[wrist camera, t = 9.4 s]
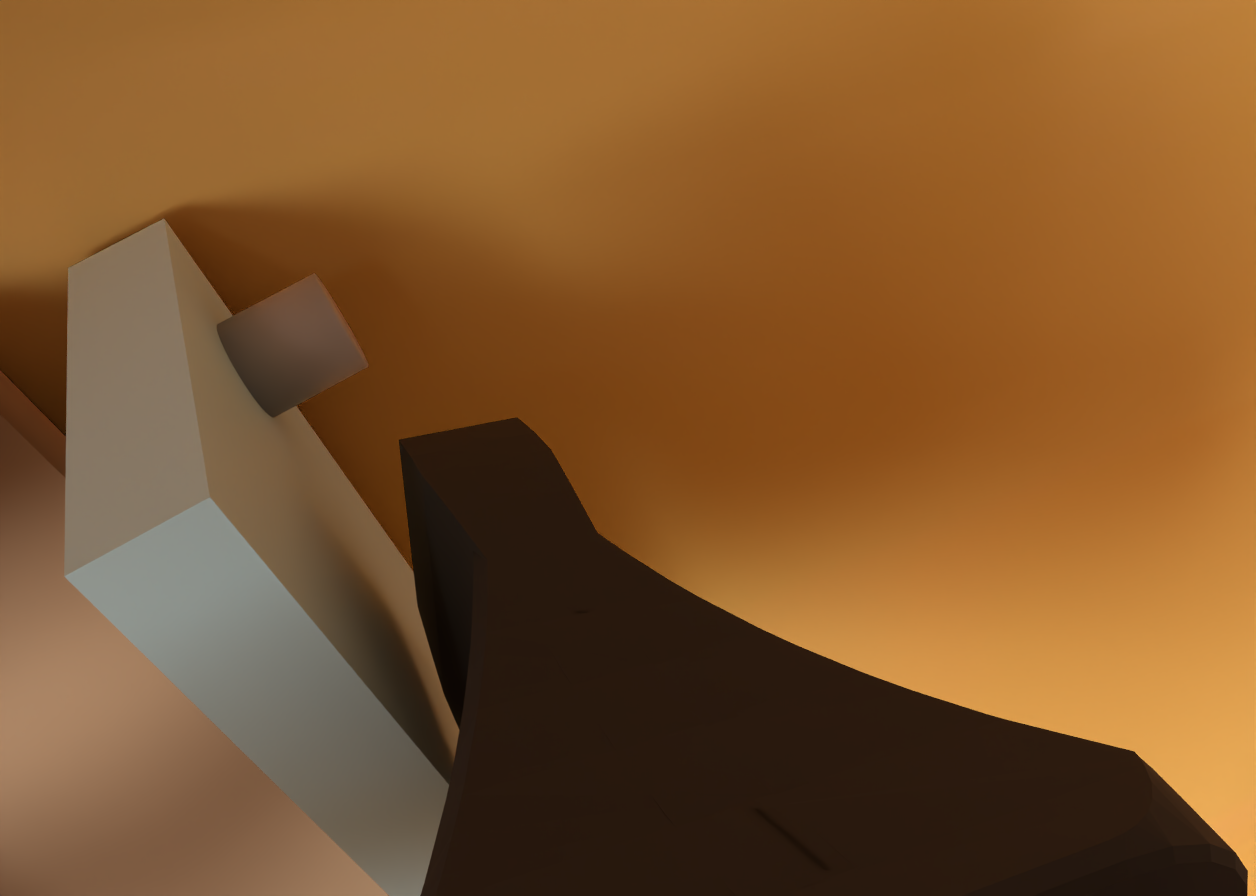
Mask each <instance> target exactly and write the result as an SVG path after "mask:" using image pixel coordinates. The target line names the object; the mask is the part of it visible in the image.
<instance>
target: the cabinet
mask: <svg viewBox="0 0 1256 896" xmlns="http://www.w3.org/2000/svg"><path fill="white" fill-rule="evenodd" d="M65 478H66V437H65V435H64V434H63V433H62V432H61V431H60V430H59V429H58V428H57V427H56V426H55V425H54V424H53V423H52V422H51V421H50V420H49V419H48V418H47V417H46V416H45V415H44V414H43V413H42V412H41V411H40V410H39V409H38V408H37V407H36V406H35V405H34V404H33V403H32V402H31V401H30V400H29V399H28V398H27V397H26V396H25V395H24V394H23V393H22V392H21V391H20V390H19V389H18V388H17V387H16V386H15V385H14V384H13V383H12V382H11V381H10V380H9V379H8V378H7V377H6V376H5V375H4V374H3V373H2V372H1V371H0V896H389V895H388V894H387V893H386V892H385V891H384V890H383V889H382V888H381V887H380V886H379V885H378V884H377V883H376V882H375V881H374V880H373V879H372V878H371V877H370V876H369V875H368V874H367V873H366V872H365V871H364V870H362V869H361V868H360V867H359V866H358V865H357V864H356V863H355V862H354V861H353V860H352V859H351V858H350V857H349V856H348V855H347V854H346V853H345V852H344V851H343V850H342V849H341V848H340V847H339V846H338V845H337V844H336V843H335V842H334V841H333V840H332V839H331V838H330V837H329V836H328V835H327V834H326V833H325V832H324V831H323V830H322V829H321V828H320V827H319V826H318V825H317V824H316V823H315V822H314V821H313V820H312V819H311V818H310V817H309V816H308V815H307V814H306V813H304V812H303V811H302V810H301V809H300V808H299V807H298V806H297V805H296V804H295V803H294V802H293V801H292V800H291V799H290V798H289V797H288V796H287V795H286V794H285V793H284V792H283V791H282V790H281V789H280V788H279V787H278V786H277V785H276V784H275V783H274V782H273V781H272V780H271V779H270V778H269V777H268V776H267V775H266V774H265V773H264V772H263V771H262V770H261V769H260V768H259V767H258V766H257V765H256V764H255V763H254V762H253V761H252V760H251V759H250V758H249V757H247V756H246V755H245V754H244V753H243V752H242V751H241V750H240V749H239V748H238V747H237V746H236V745H235V744H234V743H233V742H232V741H231V740H230V739H229V738H228V737H227V736H226V735H225V734H224V733H223V732H222V731H221V730H220V729H219V728H218V727H217V726H216V725H215V724H214V723H213V722H212V721H211V720H210V719H209V718H208V717H207V716H206V715H205V714H204V713H203V712H202V711H201V710H200V709H199V708H198V707H197V706H196V705H195V704H194V703H193V702H192V701H191V700H189V699H188V698H187V697H186V696H185V695H184V694H183V693H182V692H181V691H180V690H179V689H178V688H177V687H176V686H175V685H174V684H173V683H172V682H171V681H170V680H169V679H168V678H167V677H166V676H165V675H164V674H163V673H162V672H161V671H160V670H159V669H158V668H157V667H156V666H155V665H154V664H153V663H152V662H151V661H150V660H149V659H148V658H147V657H146V656H145V655H144V654H143V653H142V652H141V651H140V650H139V649H138V648H137V647H136V646H135V645H134V644H133V643H131V642H130V641H129V640H128V639H127V638H126V637H125V636H124V635H123V634H122V633H121V632H120V631H119V630H118V629H117V628H116V627H115V626H114V625H113V624H112V623H111V622H110V621H109V620H108V619H107V618H106V617H105V616H104V615H103V614H102V613H101V612H100V611H99V610H98V609H97V608H96V607H95V606H94V605H93V604H92V603H91V602H90V601H89V600H88V599H87V598H86V597H85V596H84V595H83V594H82V593H81V592H80V591H79V590H78V589H77V588H76V587H74V586H73V585H72V584H71V583H70V582H69V581H68V580H67V579H66V578H65V577H64V557H65Z"/></svg>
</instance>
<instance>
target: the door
mask: <svg viewBox="0 0 1256 896" xmlns="http://www.w3.org/2000/svg"><path fill="white" fill-rule="evenodd" d="M367 367H369V365H368V362H367V360H366V357H365V355H364V353H363V351H362V349H361V347H360V345H359V343H358V341H357V340H356V338H355V336H354V334H353V332H352V330H351V329H350V327H349V325H348V323H347V322H346V320H345V318H344V316H343V315H342V313H341V311H340V310H339V308H338V306H337V305H336V303H335V301H334V300H333V298H332V297H331V295H330V293H329V292H328V290H327V289H326V287H325V286H324V284H323V283H322V281H321V280H320V279H319V277H318V276H317V275H316V274H315V273H313V274H311V275H309V276H307V277H306V278H304V279H302V280H300V281H298V282H296V283H294V284H292V285H290V286H289V287H287V288H285V289H283V290H281V291H279V292H277V293H275V294H273V295H272V296H270V297H268V298H266V299H264V300H262V301H260V302H258V303H256V304H255V305H253V306H251V307H249V308H247V309H245V310H243V311H241V312H239V313H238V314H236V315H234V316H233V315H232V314H231V312H230V311H229V310H228V308H227V307H226V305H225V304H224V302H223V301H222V300H221V298H220V297H219V295H218V294H217V293H216V291H215V290H214V288H213V287H212V285H211V284H210V283H209V281H208V280H207V278H206V277H205V276H204V274H203V273H202V271H201V270H200V268H199V267H198V266H197V264H196V263H195V261H194V260H193V259H192V257H191V256H190V254H189V253H188V251H187V250H186V249H185V247H184V246H183V244H182V243H181V241H180V240H179V239H178V237H177V236H176V234H175V233H174V232H173V230H172V229H171V227H170V226H169V224H168V223H167V222H166V220H165V219H162V220H160V221H158V222H156V223H154V224H152V225H150V226H148V227H146V228H144V229H142V230H141V231H139V232H137V233H135V234H133V235H131V236H129V237H127V238H125V239H123V240H121V241H119V242H117V243H115V244H113V245H111V246H110V247H108V248H106V249H104V250H102V251H100V252H98V253H96V254H94V255H92V256H90V257H88V258H86V259H84V260H82V261H81V262H79V263H77V264H75V265H73V266H71V267H69V268H68V320H67V399H66V478H65V557H64V577H65V578H66V579H67V580H68V581H69V582H70V583H71V584H72V585H73V586H74V587H76V588H77V589H78V590H79V591H80V592H81V593H82V594H83V595H84V596H85V597H86V598H87V599H88V600H89V601H90V602H91V603H92V604H93V605H94V606H95V607H96V608H97V609H98V610H99V611H100V612H101V613H102V614H103V615H104V616H105V617H106V618H107V619H108V620H109V621H110V622H111V623H112V624H113V625H114V626H115V627H116V628H117V629H118V630H119V631H120V632H121V633H122V634H123V635H124V636H125V637H126V638H127V639H128V640H129V641H130V642H131V643H133V644H134V645H135V646H136V647H137V648H138V649H139V650H140V651H141V652H142V653H143V654H144V655H145V656H146V657H147V658H148V659H149V660H150V661H151V662H152V663H153V664H154V665H155V666H156V667H157V668H158V669H159V670H160V671H161V672H162V673H163V674H164V675H165V676H166V677H167V678H168V679H169V680H170V681H171V682H172V683H173V684H174V685H175V686H176V687H177V688H178V689H179V690H180V691H181V692H182V693H183V694H184V695H185V696H186V697H187V698H188V699H189V700H191V701H192V702H193V703H194V704H195V705H196V706H197V707H198V708H199V709H200V710H201V711H202V712H203V713H204V714H205V715H206V716H207V717H208V718H209V719H210V720H211V721H212V722H213V723H214V724H215V725H216V726H217V727H218V728H219V729H220V730H221V731H222V732H223V733H224V734H225V735H226V736H227V737H228V738H229V739H230V740H231V741H232V742H233V743H234V744H235V745H236V746H237V747H238V748H239V749H240V750H241V751H242V752H243V753H244V754H245V755H246V756H247V757H249V758H250V759H251V760H252V761H253V762H254V763H255V764H256V765H257V766H258V767H259V768H260V769H261V770H262V771H263V772H264V773H265V774H266V775H267V776H268V777H269V778H270V779H271V780H272V781H273V782H274V783H275V784H276V785H277V786H278V787H279V788H280V789H281V790H282V791H283V792H284V793H285V794H286V795H287V796H288V797H289V798H290V799H291V800H292V801H293V802H294V803H295V804H296V805H297V806H298V807H299V808H300V809H301V810H302V811H303V812H304V813H306V814H307V815H308V816H309V817H310V818H311V819H312V820H313V821H314V822H315V823H316V824H317V825H318V826H319V827H320V828H321V829H322V830H323V831H324V832H325V833H326V834H327V835H328V836H329V837H330V838H331V839H332V840H333V841H334V842H335V843H336V844H337V845H338V846H339V847H340V848H341V849H342V850H343V851H344V852H345V853H346V854H347V855H348V856H349V857H350V858H351V859H352V860H353V861H354V862H355V863H356V864H357V865H358V866H359V867H360V868H361V869H362V870H364V871H365V872H366V873H367V874H368V875H369V876H370V877H371V878H372V879H373V880H374V881H375V882H376V883H377V884H378V885H379V886H380V887H381V888H382V889H383V890H384V891H385V892H386V893H387V894H388V895H389V896H420V895H421V892H422V889H423V885H424V882H425V878H426V874H427V870H428V867H429V863H430V859H431V855H432V851H433V847H434V844H435V840H436V836H437V832H438V828H439V824H440V820H441V817H442V813H443V809H444V805H445V801H446V797H447V792H448V788H449V783H450V778H451V774H452V769H453V764H454V759H455V753H456V747H457V741H458V735H459V728H458V726H457V724H456V721H455V719H454V717H453V715H452V712H451V710H450V708H449V705H448V703H447V701H446V698H445V696H444V693H443V690H442V687H441V684H440V680H439V677H438V674H437V671H436V667H435V664H434V661H433V658H432V654H431V651H430V647H429V644H428V641H427V637H426V634H425V630H424V627H423V624H422V620H421V617H420V613H419V610H418V607H417V598H416V589H415V580H414V572H413V571H412V569H411V568H410V566H409V565H408V563H407V562H406V561H405V559H404V558H403V556H402V555H401V554H400V552H399V551H398V549H397V548H396V546H395V545H394V544H393V542H392V541H391V539H390V538H389V537H388V535H387V534H386V532H385V531H384V529H383V528H382V527H381V525H380V524H379V522H378V521H377V519H376V518H375V517H374V515H373V514H372V512H371V511H370V510H369V508H368V507H367V505H366V504H365V502H364V501H363V500H362V498H361V497H360V495H359V494H358V493H357V491H356V490H355V488H354V487H353V485H352V484H351V483H350V481H349V480H348V478H347V477H346V476H345V474H344V473H343V471H342V470H341V468H340V467H339V466H338V464H337V463H336V461H335V460H334V458H333V457H332V456H331V454H330V453H329V451H328V450H327V449H326V447H325V446H324V444H323V443H322V441H321V440H320V439H319V437H318V436H317V434H316V433H315V432H314V430H313V429H312V427H311V426H310V424H309V423H308V422H307V420H306V419H305V417H304V416H303V415H302V413H301V412H300V410H299V409H298V407H297V405H298V404H300V403H302V402H304V401H306V400H308V399H310V398H311V397H313V396H315V395H317V394H319V393H321V392H323V391H324V390H326V389H328V388H330V387H332V386H334V385H335V384H337V383H339V382H341V381H343V380H345V379H347V378H348V377H350V376H352V375H354V374H356V373H358V372H360V371H361V370H363V369H365V368H367Z"/></svg>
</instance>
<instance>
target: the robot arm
mask: <svg viewBox="0 0 1256 896" xmlns="http://www.w3.org/2000/svg"><path fill="white" fill-rule="evenodd" d="M399 446H400V455H401V464H402V473H403V481H404V490H405V499H406V508H407V517H408V526H409V535H410V544H411V553H412V562H413V571H414V580H415V589H416V598H417V607H418V610H419V613H420V617H421V620H422V624H423V627H424V630H425V634H426V637H427V641H428V644H429V647H430V651H431V654H432V658H433V661H434V664H435V667H436V671H437V674H438V677H439V680H440V684H441V687H442V690H443V693H444V696H445V698H446V701H447V703H448V705H449V708H450V710H451V712H452V715H453V717H454V719H455V721H456V724H457V726H458V728H459V735H458V741H457V747H456V753H455V759H454V764H453V769H452V774H451V778H450V783H449V788H448V792H447V797H446V801H445V805H444V809H443V813H442V817H441V820H440V824H439V828H438V832H437V836H436V840H435V844H434V847H433V851H432V855H431V859H430V863H429V867H428V870H427V874H426V878H425V882H424V885H423V889H422V892H421V895H420V896H1247V879H1248V871H1247V869H1246V868H1245V866H1244V865H1243V863H1242V862H1241V860H1240V859H1239V857H1238V856H1237V854H1236V853H1235V852H1234V851H1233V850H1232V849H1231V848H1230V847H1229V846H1228V845H1227V844H1226V843H1225V842H1224V841H1223V839H1222V838H1221V837H1220V836H1219V835H1218V834H1217V833H1216V832H1215V831H1214V830H1213V829H1212V828H1211V827H1210V826H1209V825H1208V824H1207V823H1206V822H1205V821H1204V820H1203V819H1202V818H1201V817H1200V816H1199V815H1198V814H1197V813H1196V812H1195V811H1194V810H1193V809H1192V808H1191V807H1190V806H1189V805H1188V804H1187V803H1186V802H1185V801H1184V800H1183V799H1182V798H1181V797H1180V796H1179V795H1178V794H1177V793H1176V792H1175V791H1174V790H1173V789H1172V788H1171V787H1170V786H1169V785H1168V784H1167V783H1166V782H1165V781H1164V780H1163V779H1162V778H1161V777H1160V776H1159V775H1158V774H1157V773H1156V772H1155V771H1154V770H1153V769H1152V768H1151V767H1150V766H1149V765H1148V764H1147V763H1146V762H1144V761H1143V760H1142V759H1141V758H1140V757H1139V756H1138V755H1137V754H1136V753H1135V752H1134V751H1130V750H1126V749H1122V748H1118V747H1114V746H1110V745H1106V744H1102V743H1098V742H1094V741H1090V740H1085V739H1081V738H1077V737H1073V736H1069V735H1065V734H1061V733H1057V732H1053V731H1049V730H1045V729H1041V728H1037V727H1033V726H1029V725H1025V724H1021V723H1017V722H1013V721H1009V720H1005V719H1001V718H998V717H994V716H991V715H988V714H984V713H981V712H978V711H975V710H972V709H968V708H965V707H962V706H959V705H956V704H953V703H950V702H946V701H943V700H940V699H937V698H934V697H931V696H928V695H924V694H921V693H918V692H915V691H912V690H909V689H907V688H904V687H901V686H898V685H895V684H893V683H890V682H887V681H884V680H882V679H879V678H876V677H873V676H870V675H868V674H865V673H862V672H860V671H857V670H855V669H853V668H850V667H848V666H845V665H843V664H840V663H838V662H836V661H833V660H831V659H828V658H826V657H823V656H821V655H819V654H816V653H814V652H811V651H809V650H806V649H804V648H802V647H799V646H797V645H795V644H792V643H790V642H788V641H786V640H784V639H781V638H779V637H777V636H775V635H773V634H771V633H768V632H766V631H764V630H762V629H760V628H758V627H756V626H754V625H752V624H750V623H748V622H746V621H744V620H742V619H740V618H738V617H736V616H735V615H733V614H731V613H729V612H727V611H725V610H723V609H721V608H719V607H717V606H715V605H713V604H711V603H709V602H707V601H705V600H703V599H701V598H700V597H698V596H696V595H694V594H693V593H691V592H689V591H687V590H686V589H684V588H682V587H680V586H679V585H677V584H675V583H673V582H672V581H670V580H668V579H667V578H665V577H664V576H662V575H660V574H659V573H657V572H656V571H654V570H652V569H651V568H649V567H648V566H646V565H644V564H643V563H641V562H640V561H638V560H636V559H635V558H633V557H632V556H630V555H629V554H627V553H626V552H624V551H623V550H621V549H620V548H618V547H617V546H615V545H614V544H613V543H611V542H610V541H608V540H607V539H605V538H604V537H603V536H601V535H600V534H598V533H597V531H596V529H595V528H594V526H593V524H592V522H591V520H590V518H589V517H588V515H587V513H586V511H585V509H584V507H583V506H582V504H581V502H580V500H579V498H578V496H577V495H576V493H575V491H574V489H573V487H572V486H571V484H570V482H569V480H568V479H567V477H566V475H565V473H564V472H563V470H562V468H561V466H560V464H559V463H558V461H557V459H556V458H555V456H554V454H553V453H552V451H551V449H550V448H549V447H548V446H547V445H546V444H545V443H544V442H543V441H542V440H541V439H540V438H539V436H538V435H537V434H536V433H535V432H534V431H532V430H531V429H530V428H529V427H528V426H527V425H525V424H524V423H523V422H522V421H521V420H520V419H518V418H512V419H506V420H501V421H496V422H491V423H485V424H480V425H475V426H469V427H464V428H459V429H454V430H448V431H443V432H438V433H433V434H427V435H422V436H417V437H411V438H406V439H401V440H399Z"/></svg>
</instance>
